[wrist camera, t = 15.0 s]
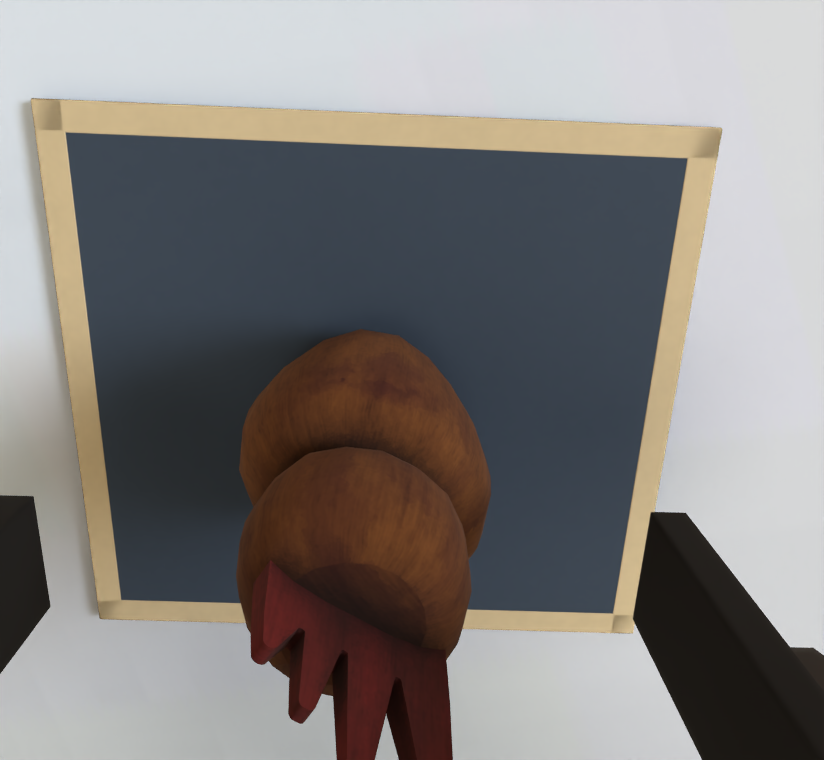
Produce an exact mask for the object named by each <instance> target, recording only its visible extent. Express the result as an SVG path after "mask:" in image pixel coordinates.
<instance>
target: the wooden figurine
mask: <svg viewBox="0 0 824 760" xmlns="http://www.w3.org/2000/svg"><path fill="white" fill-rule="evenodd" d="M239 471H240V474H241V476H242V479H243V482H244V485H245V487H246V490H247V492H248V495H249V497H250V500H251V502H252V505H253V509H252V510H251V512H250V514H249V516H248V517H247V519H246V521H245V523H244V527H243V531H242V535H241V538H240V543H239V552H238V562H237V571H236V580H237V587H238V594H239V599H240V603H241V607H242V610H243V614H244V618H245V621H246V625H247V628H248V630H249V631H250V633H251V658H252V659H253V661H254V662H256V663H257V664H260V665H262V664H265V663H267V662H268V661H269V662H270V663H271V665H272V666H273V667H275V668H276V669H278V670H279V671H280V672H282V673H283V674H284V675H286V676H287V677H289V711H288V714H289V716H290V718H291V719H292V720H294V721H296V722H298V723H299V724H302V723H303V722H305V720H306V719H307V718H308V716H309V715H310V714H311V713H312V711H313V710H314V709H315V707H316V705H317V703H318V701H319V699H320V696H321V694H325V695H331V696H333V701H334V718H335V735H336V753H337V760H375V756H376V752H377V748H378V744H379V740H380V736H381V732H382V728H383V724H384V720H385V716H386V714H387V718H388V721H389V725H390V729H391V732H392V736H393V740H394V743H395V747H396V750H397V754H398V758H399V760H453V757H452V737H451V716H450V699H449V687H448V675H447V663H446V660H447V658H448V657H449V655H450V654H451V652H452V651H453V649H454V648H455V647H456V645H457V643H458V640H459V637H460V634H461V631H462V628H463V625H464V621H465V616H466V612H467V608H468V604H469V600H470V596H471V592H472V590H471V576H470V567H469V559H470V557H471V556H472V555H473V553H474V552H475V550H476V549H477V547H478V544H479V541H480V538H481V535H482V531H483V527H484V523H485V518H486V514H487V510H488V505H489V501H490V497H491V477H490V473H489V469H488V465H487V462H486V458H485V455H484V452H483V449H482V446H481V444H480V441H479V438H478V435H477V432H476V429H475V426H474V424H473V422H472V420H471V418H470V416H469V414H468V413H467V411H466V409H465V407H464V406H463V404H462V403H461V401H460V399H459V398H458V396H457V394H456V393H455V391H454V389H453V388H452V386H451V384H450V383H449V382H448V381H447V379H446V378H445V377H444V376H443V374H442V373H441V372H440V371H439V370H438V368H437V367H436V366H435V365H434V364H433V362H432V361H431V360H430V359H429V357H427V356H426V355H425V354H423V353H422V352H420V351H419V350H418V349H416V348H415V347H414V346H412V345H411V344H410V343H408V342H407V341H406V340H404V339H403V338H402V337H400V336H399V335H393V334H387V333H381V332H375V331H369V330H363V329H359V330H356V331H353V332H349V333H346V334H343V335H339V336H336V337H332V338H329V339H326V340H323V341H322V342H320V343H319V344H317V345H316V346H314V347H313V348H311V349H310V350H309V351H307V352H306V353H304V354H303V355H301V356H300V357H298V358H297V359H295V360H294V361H292V362H291V363H290V364H288V365H287V366H285V367H284V368H283V369H282V370H281V371H280V372H279V373H278V374H277V375H276V376H275V378H274V379H273V380H272V381H271V382H270V383H269V384H268V385H267V386H266V388H265V389H264V390H263V391H262V392H261V393H260V394H259V395H258V397H257V398H256V400H255V401H254V403H253V404H252V406H251V407H250V409H249V410H248V413H247V417H246V420H245V423H244V426H243V431H242V442H241V454H240V466H239Z"/></svg>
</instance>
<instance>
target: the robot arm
mask: <svg viewBox="0 0 824 760" xmlns="http://www.w3.org/2000/svg"><path fill="white" fill-rule="evenodd" d="M49 608H50V601H49V594H48V588H47V581H46V575H45V568H44V562H43V555H42V549H41V542H40V536H39V529H38V523H37V516H36V510H35V503H34V497H33V496H0V673H1V672H2V671H3V669H4V668H5V667H6V665H7V664H8V663H9V661H10V660H11V659H12V657H13V656H14V655H15V653H16V652H17V651H18V649H19V648H20V647H21V645H22V644H23V643H24V641H25V640H26V639H27V637H28V636H29V635H30V633H31V632H32V631H33V629H34V628H35V626H36V625H37V624H38V622H39V621H40V620H41V618H42V617H43V616H44V614H45V613H46V612H47V610H48V609H49ZM633 620H634V622H635V624H636V626H637V628H638V630H639V632H640V634H641V637H642V639H643V641H644V643H645V645H646V647H647V649H648V651H649V653H650V655H651V657H652V659H653V661H654V663H655V665H656V667H657V669H658V671H659V673H660V675H661V677H662V679H663V681H664V683H665V685H666V687H667V689H668V691H669V693H670V695H671V697H672V699H673V702H674V704H675V706H676V708H677V710H678V712H679V714H680V716H681V718H682V720H683V722H684V724H685V726H686V728H687V730H688V732H689V734H690V736H691V738H692V740H693V742H694V744H695V746H696V748H697V750H698V752H699V754H700V756H701V758H702V760H824V655H822V654H821V653H820V652H818V651H817V650H815V649H814V648H792V647H789V646H788V644H787V643H786V642H785V640H784V639H783V638H782V636H781V635H780V634H779V633H778V631H777V630H776V629H775V627H774V626H773V625H772V624H771V622H770V621H769V620H768V618H767V617H766V616H765V615H764V613H763V612H762V611H761V609H760V608H759V607H758V606H757V604H756V603H755V602H754V600H753V599H752V598H751V596H750V595H749V594H748V593H747V591H746V590H745V589H744V587H743V586H742V585H741V584H740V582H739V581H738V580H737V578H736V577H735V576H734V575H733V573H732V572H731V571H730V569H729V568H728V567H727V565H726V564H725V563H724V562H723V560H722V559H721V558H720V556H719V555H718V554H717V553H716V551H715V550H714V549H713V547H712V546H711V545H710V544H709V542H708V541H707V540H706V538H705V537H704V536H703V535H702V533H701V532H700V531H699V529H698V528H697V527H696V525H695V524H694V523H693V522H692V520H691V519H690V518H689V516H688V515H687V514H686V513H669V512H651V514H650V520H649V526H648V531H647V537H646V543H645V549H644V555H643V561H642V567H641V572H640V578H639V584H638V590H637V596H636V602H635V608H634V613H633Z"/></svg>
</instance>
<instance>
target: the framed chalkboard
mask: <svg viewBox="0 0 824 760" xmlns="http://www.w3.org/2000/svg"><path fill="white" fill-rule="evenodd" d="M31 105H32V112H33V120H34V127H35V135H36V142H37V150H38V157H39V165H40V172H41V180H42V187H43V195H44V202H45V210H46V218H47V225H48V233H49V240H50V248H51V255H52V263H53V270H54V278H55V285H56V293H57V300H58V308H59V315H60V323H61V330H62V338H63V345H64V353H65V360H66V368H67V375H68V383H69V390H70V398H71V405H72V413H73V421H74V428H75V436H76V443H77V451H78V458H79V466H80V473H81V481H82V488H83V496H84V503H85V511H86V518H87V526H88V533H89V541H90V548H91V556H92V563H93V571H94V578H95V586H96V593H97V601H98V609H99V616H100V619H117V620H154V621H191V622H228V623H246V621H245V618H244V614H243V610H242V607H241V603H240V599H239V594H238V587H237V580H236V571H237V562H238V552H239V543H240V538H241V535H242V531H243V527H244V523H245V521H246V519H247V517H248V516H249V514H250V512H251V510H252V509H253V505H252V502H251V500H250V497H249V495H248V492H247V490H246V487H245V485H244V482H243V479H242V476H241V474H240V471H239V466H240V454H241V442H242V431H243V426H244V423H245V420H246V417H247V413H248V410H249V409H250V407H251V406H252V404H253V403H254V401H255V400H256V398H257V397H258V395H259V394H260V393H261V392H262V391H263V390H264V389H265V388H266V386H267V385H268V384H269V383H270V382H271V381H272V380H273V379H274V378H275V376H276V375H277V374H278V373H279V372H280V371H281V370H282V369H283V368H284V367H285V366H287V365H288V364H290V363H291V362H292V361H294V360H295V359H297V358H298V357H300V356H301V355H303V354H304V353H306V352H307V351H309V350H310V349H311V348H313V347H314V346H316V345H317V344H319V343H320V342H322V341H323V340H326V339H329V338H332V337H336V336H339V335H343V334H346V333H349V332H353V331H356V330H359V329H363V330H369V331H375V332H381V333H387V334H393V335H399V336H400V337H402V338H403V339H404V340H406V341H407V342H408V343H410V344H411V345H412V346H414V347H415V348H416V349H418V350H419V351H420V352H422V353H423V354H425V355H426V356H427V357H429V359H430V360H431V361H432V362H433V364H434V365H435V366H436V367H437V368H438V370H439V371H440V372H441V373H442V374H443V376H444V377H445V378H446V379H447V381H448V382H449V383H450V384H451V386H452V388H453V389H454V391H455V393H456V394H457V396H458V398H459V399H460V401H461V403H462V404H463V406H464V407H465V409H466V411H467V413H468V414H469V416H470V418H471V420H472V422H473V424H474V426H475V429H476V432H477V435H478V438H479V441H480V444H481V446H482V449H483V452H484V455H485V458H486V462H487V465H488V469H489V473H490V477H491V497H490V501H489V505H488V510H487V514H486V518H485V523H484V527H483V531H482V535H481V538H480V541H479V544H478V547H477V549H476V550H475V552H474V553H473V555H472V556H471V557H470V559H469V567H470V576H471V590H472V592H471V596H470V600H469V604H468V608H467V612H466V616H465V621H464V625H463V628H462V629H488V630H525V631H562V632H599V633H633V629H634V624H635V622H634V620H633V613H634V608H635V602H636V596H637V590H638V584H639V578H640V572H641V567H642V561H643V555H644V549H645V543H646V537H647V531H648V526H649V520H650V514H651V512H654V511H655V505H656V500H657V494H658V488H659V483H660V477H661V472H662V466H663V460H664V455H665V449H666V443H667V438H668V432H669V426H670V421H671V415H672V410H673V404H674V398H675V393H676V387H677V381H678V376H679V370H680V365H681V359H682V353H683V348H684V342H685V336H686V331H687V325H688V320H689V314H690V308H691V303H692V297H693V291H694V286H695V280H696V274H697V269H698V263H699V258H700V252H701V246H702V241H703V235H704V229H705V224H706V218H707V213H708V207H709V201H710V196H711V190H712V184H713V179H714V173H715V167H716V162H717V156H718V151H719V145H720V139H721V134H722V128H715V127H691V126H668V125H645V124H621V123H598V122H574V121H551V120H528V119H504V118H481V117H458V116H434V115H411V114H388V113H364V112H341V111H317V110H294V109H271V108H247V107H224V106H201V105H177V104H154V103H130V102H107V101H84V100H60V99H37V98H32V99H31Z"/></svg>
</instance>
